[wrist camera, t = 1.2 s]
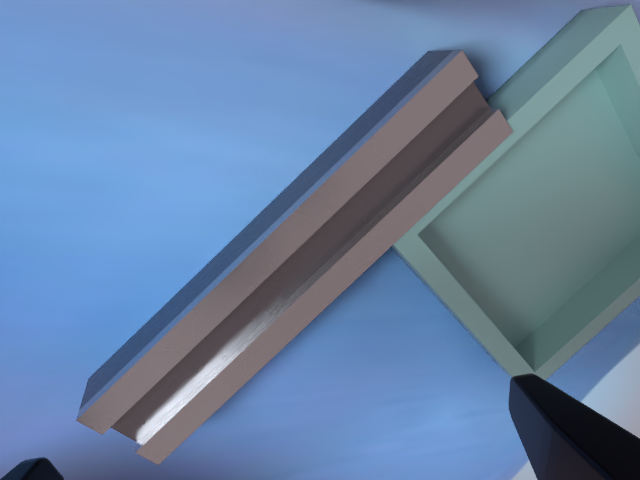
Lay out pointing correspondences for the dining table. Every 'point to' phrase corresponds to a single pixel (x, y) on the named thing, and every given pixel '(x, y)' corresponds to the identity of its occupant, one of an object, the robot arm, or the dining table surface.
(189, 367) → the t-slot rail
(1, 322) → the dining table surface
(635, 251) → the tray
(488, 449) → the dining table surface
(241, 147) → the dining table surface
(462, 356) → the dining table surface
